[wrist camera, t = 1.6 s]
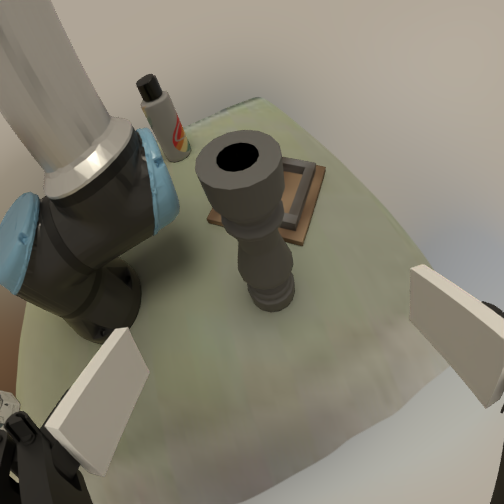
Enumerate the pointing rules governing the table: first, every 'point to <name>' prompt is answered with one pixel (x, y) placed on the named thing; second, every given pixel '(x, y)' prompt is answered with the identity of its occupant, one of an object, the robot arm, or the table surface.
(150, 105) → the lotion bottle
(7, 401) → the ink box
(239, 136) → the candle holder
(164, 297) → the table surface
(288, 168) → the socket plate
